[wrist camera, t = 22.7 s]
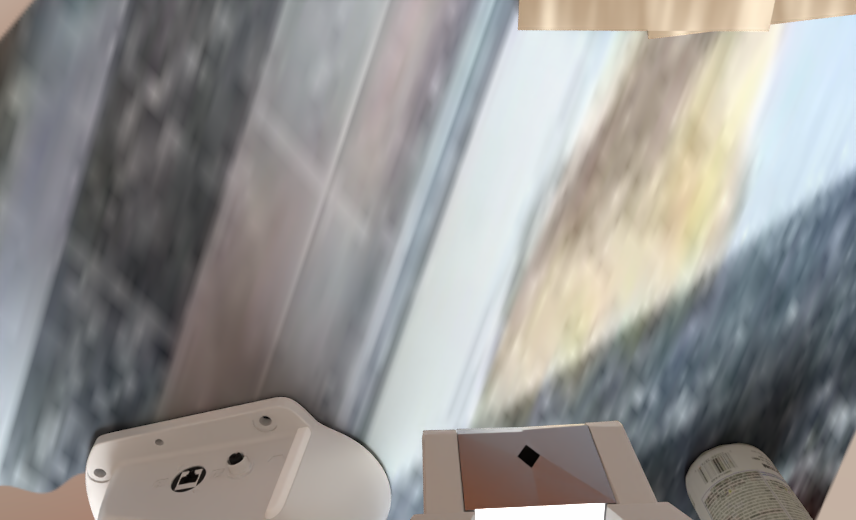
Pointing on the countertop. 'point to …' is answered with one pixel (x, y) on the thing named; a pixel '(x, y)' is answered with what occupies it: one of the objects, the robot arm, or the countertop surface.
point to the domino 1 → (646, 15)
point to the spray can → (740, 486)
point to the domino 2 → (790, 13)
